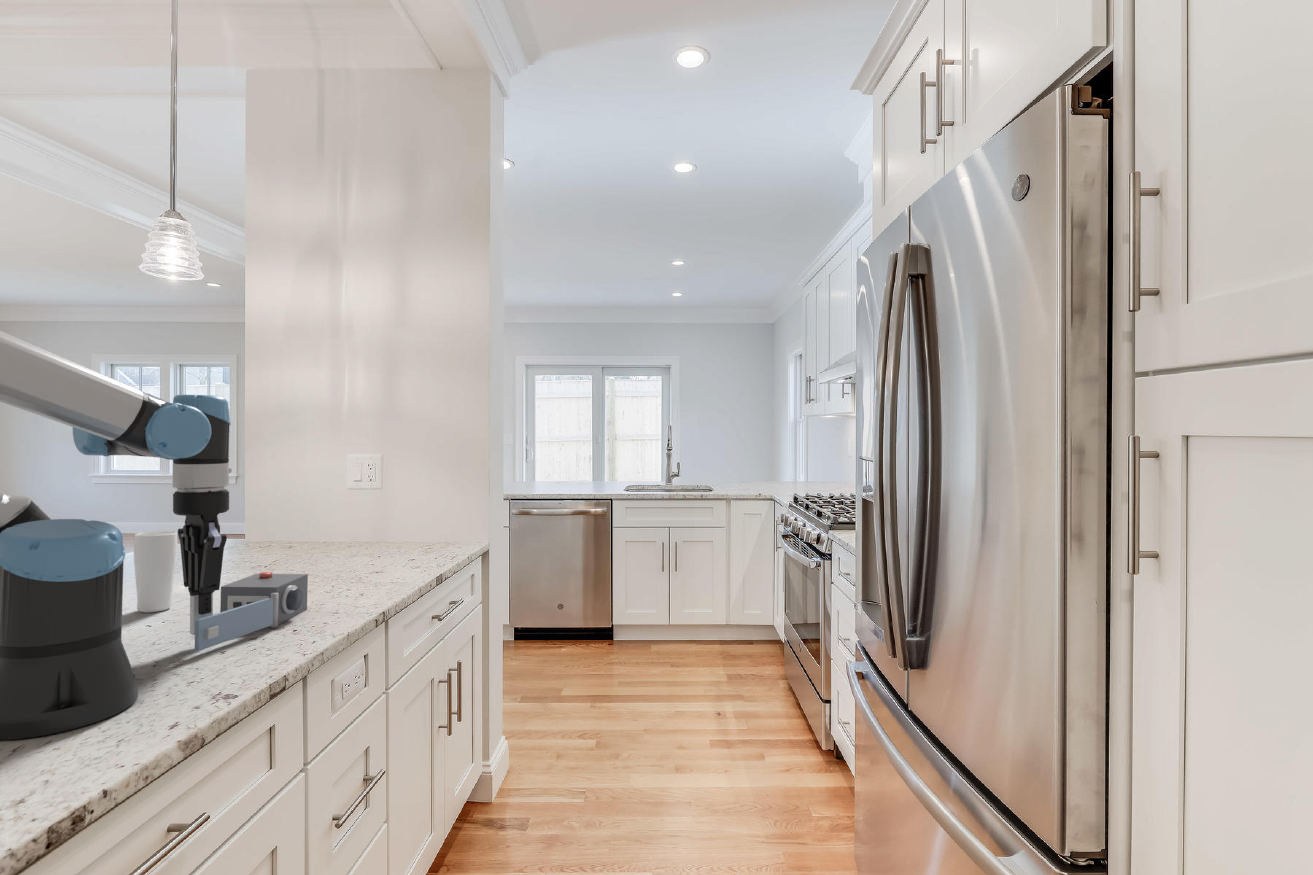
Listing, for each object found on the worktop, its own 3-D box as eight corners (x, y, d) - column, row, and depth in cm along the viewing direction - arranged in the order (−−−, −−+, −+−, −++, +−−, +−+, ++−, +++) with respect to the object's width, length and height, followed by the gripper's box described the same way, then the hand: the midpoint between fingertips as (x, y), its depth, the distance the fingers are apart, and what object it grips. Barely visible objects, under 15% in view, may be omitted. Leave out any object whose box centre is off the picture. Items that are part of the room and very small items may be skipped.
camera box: (283, 626, 116) (284, 583, 116) (218, 625, 115) (219, 582, 115) (315, 609, 127) (316, 570, 127) (255, 608, 127) (256, 569, 127)
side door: (281, 626, 115) (282, 593, 115) (202, 655, 100) (203, 617, 100) (273, 625, 116) (274, 592, 116) (193, 654, 100) (194, 616, 100)
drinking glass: (185, 605, 128) (186, 531, 128) (155, 615, 121) (156, 536, 121) (154, 604, 128) (155, 529, 128) (122, 613, 122) (124, 535, 122)
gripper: (244, 490, 104) (244, 634, 104) (211, 485, 111) (210, 619, 112) (190, 493, 98) (190, 646, 98) (159, 488, 105) (159, 630, 106)
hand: (201, 632), depth 105 cm, fingers closed
